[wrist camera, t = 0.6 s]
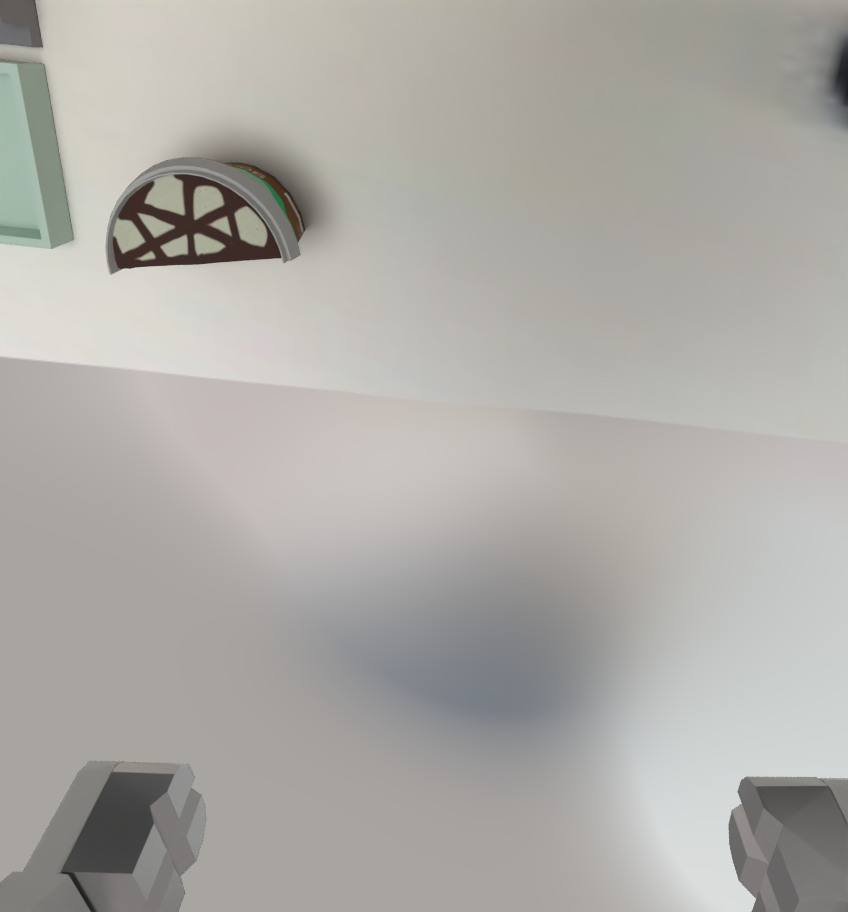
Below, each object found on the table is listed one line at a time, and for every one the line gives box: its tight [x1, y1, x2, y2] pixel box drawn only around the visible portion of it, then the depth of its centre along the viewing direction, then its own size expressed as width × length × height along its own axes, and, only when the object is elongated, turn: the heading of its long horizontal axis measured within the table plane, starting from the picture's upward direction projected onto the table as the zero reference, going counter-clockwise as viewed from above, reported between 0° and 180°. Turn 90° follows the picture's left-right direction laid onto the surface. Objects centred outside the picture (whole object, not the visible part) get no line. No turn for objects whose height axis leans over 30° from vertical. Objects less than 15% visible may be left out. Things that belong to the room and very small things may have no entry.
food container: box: [106, 158, 305, 274], centre depth 44 cm, size 12×6×10 cm, turn 94°
